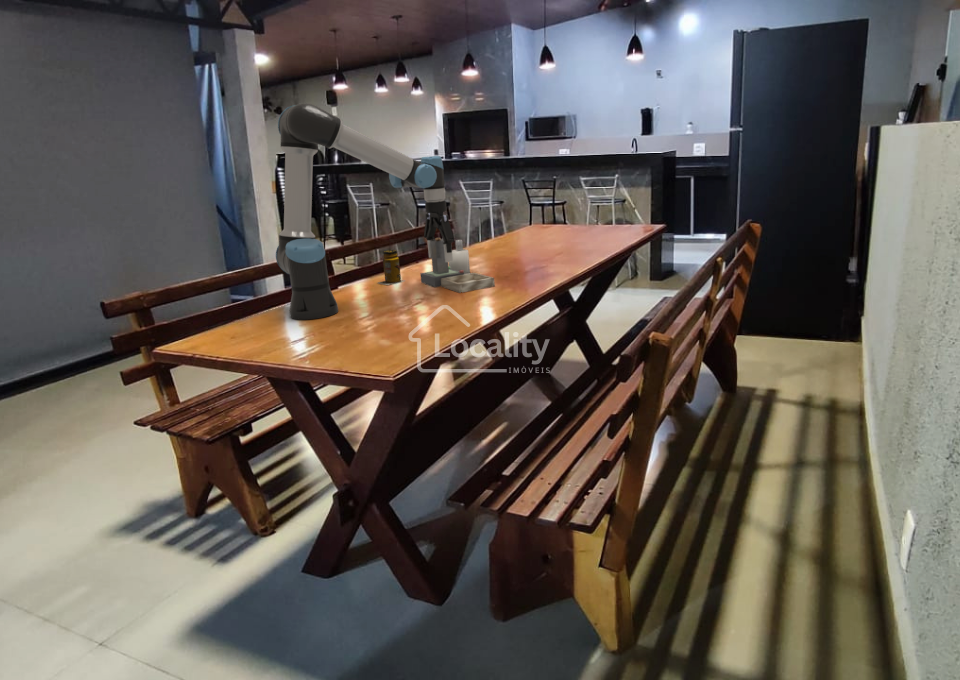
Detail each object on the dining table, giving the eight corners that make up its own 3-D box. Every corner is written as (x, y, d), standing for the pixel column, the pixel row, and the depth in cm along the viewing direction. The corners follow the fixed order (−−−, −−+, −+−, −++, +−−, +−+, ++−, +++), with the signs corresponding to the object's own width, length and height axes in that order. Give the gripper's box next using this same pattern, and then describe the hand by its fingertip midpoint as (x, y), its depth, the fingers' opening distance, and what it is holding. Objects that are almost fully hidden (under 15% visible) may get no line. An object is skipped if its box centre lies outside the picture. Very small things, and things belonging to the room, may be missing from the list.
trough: (459, 292, 229) (458, 284, 228) (441, 286, 241) (440, 278, 240) (494, 286, 236) (494, 277, 235) (475, 280, 248) (474, 272, 247)
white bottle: (455, 276, 257) (452, 243, 253) (446, 274, 263) (443, 241, 260) (473, 273, 260) (471, 240, 257) (464, 271, 267) (461, 238, 263)
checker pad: (436, 280, 242) (436, 276, 242) (426, 276, 250) (425, 272, 250) (458, 276, 246) (458, 272, 246) (447, 272, 254) (447, 269, 254)
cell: (438, 274, 245) (435, 239, 241) (432, 272, 248) (429, 238, 245) (448, 272, 247) (445, 237, 243) (443, 270, 251) (440, 236, 247)
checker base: (435, 287, 241) (434, 275, 240) (421, 282, 251) (419, 271, 250) (465, 281, 246) (464, 270, 245) (449, 277, 257) (448, 266, 256)
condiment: (405, 281, 256) (402, 250, 253) (388, 285, 251) (384, 253, 247) (394, 279, 261) (391, 248, 258) (376, 283, 256) (372, 252, 252)
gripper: (460, 201, 232) (465, 261, 238) (429, 198, 253) (435, 254, 259) (441, 203, 228) (446, 265, 234) (411, 200, 249) (417, 257, 255)
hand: (440, 259), depth 246 cm, fingers open, 13 cm apart
